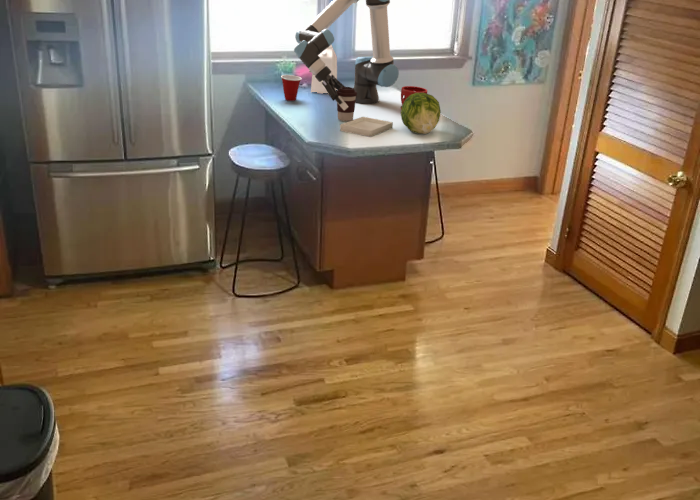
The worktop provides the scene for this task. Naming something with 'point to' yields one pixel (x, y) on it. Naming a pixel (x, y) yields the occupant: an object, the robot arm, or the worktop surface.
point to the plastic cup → (290, 86)
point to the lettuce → (420, 113)
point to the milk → (331, 62)
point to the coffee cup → (349, 98)
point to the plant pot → (410, 92)
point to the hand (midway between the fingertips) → (349, 105)
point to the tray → (366, 126)
